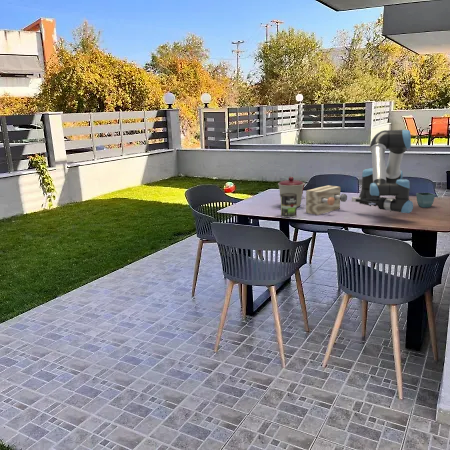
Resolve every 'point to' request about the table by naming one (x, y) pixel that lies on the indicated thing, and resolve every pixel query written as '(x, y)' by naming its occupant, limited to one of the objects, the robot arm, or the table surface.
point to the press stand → (315, 197)
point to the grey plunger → (341, 197)
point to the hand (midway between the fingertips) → (352, 199)
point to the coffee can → (288, 205)
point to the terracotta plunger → (328, 200)
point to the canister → (292, 188)
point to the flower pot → (425, 199)
